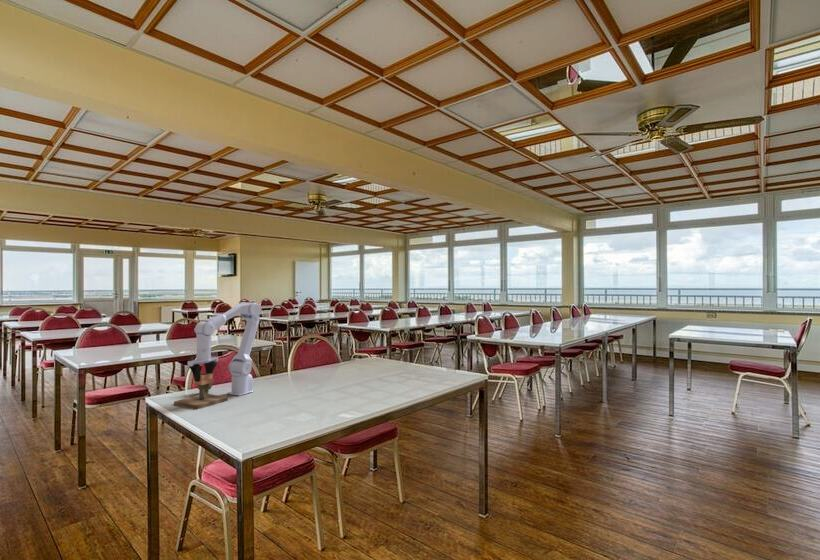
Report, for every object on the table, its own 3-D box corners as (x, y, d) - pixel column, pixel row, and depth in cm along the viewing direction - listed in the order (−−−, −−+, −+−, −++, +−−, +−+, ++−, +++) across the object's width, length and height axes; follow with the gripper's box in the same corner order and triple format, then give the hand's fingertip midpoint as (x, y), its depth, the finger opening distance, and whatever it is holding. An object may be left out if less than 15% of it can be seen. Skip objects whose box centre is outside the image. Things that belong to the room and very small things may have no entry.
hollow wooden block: (203, 381, 191) (203, 372, 191) (212, 382, 189) (212, 373, 189) (193, 383, 186) (193, 374, 186) (202, 385, 184) (202, 375, 184)
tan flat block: (205, 396, 197) (205, 383, 197) (227, 400, 192) (228, 387, 192) (173, 404, 182) (174, 390, 183) (197, 409, 177) (197, 394, 177)
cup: (194, 395, 198) (194, 378, 198) (197, 392, 205) (198, 375, 205) (211, 395, 200) (212, 378, 200) (214, 391, 207) (214, 374, 207)
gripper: (196, 351, 179) (195, 384, 179) (223, 347, 193) (222, 377, 192) (184, 350, 182) (183, 382, 182) (212, 346, 195) (211, 376, 195)
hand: (202, 380), depth 187 cm, fingers closed on hollow wooden block, 5 cm apart
